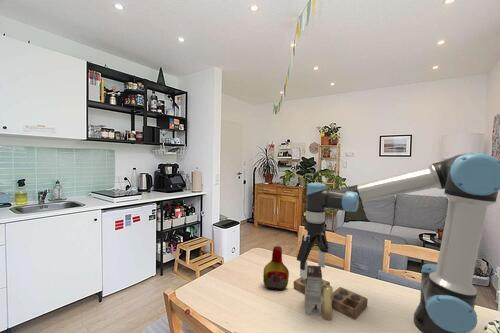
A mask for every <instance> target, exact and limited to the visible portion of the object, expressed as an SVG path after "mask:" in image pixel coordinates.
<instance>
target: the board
mask: <svg viewBox="0 0 500 333" xmlns="http://www.w3.org/2000/svg"><path fill="white" fill-rule="evenodd" d="M324 285H329V286H331V282H330V281H327V280H326V279H323V278H322V295H321V297H323V286H324ZM293 289H294V290H296V291H298V292H299V293H302V294H304V295H305V278H303V277H301V276H300V277H299V278H297V279H295V280H294V281H293Z"/></svg>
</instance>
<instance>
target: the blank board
mask: <svg viewBox="0 0 500 333" xmlns="http://www.w3.org/2000/svg"><path fill="white" fill-rule="evenodd" d="M367 307H368V298H367V297H365V296H363V295H360V294H359V293H357V292H353V291H351V290H349V289H347V288H345V287H342V286H339V287H337V289H335V290H334V291H333V294H332V310H333V309H334V310H335V311H337V312H339V313H342V314H343V315H345V316H347V317H349V318H351V319H354V320H356V319H357V318H358V317H359V316H360V315H361V314H362V313H363V311H365V309H366V308H367Z"/></svg>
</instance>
